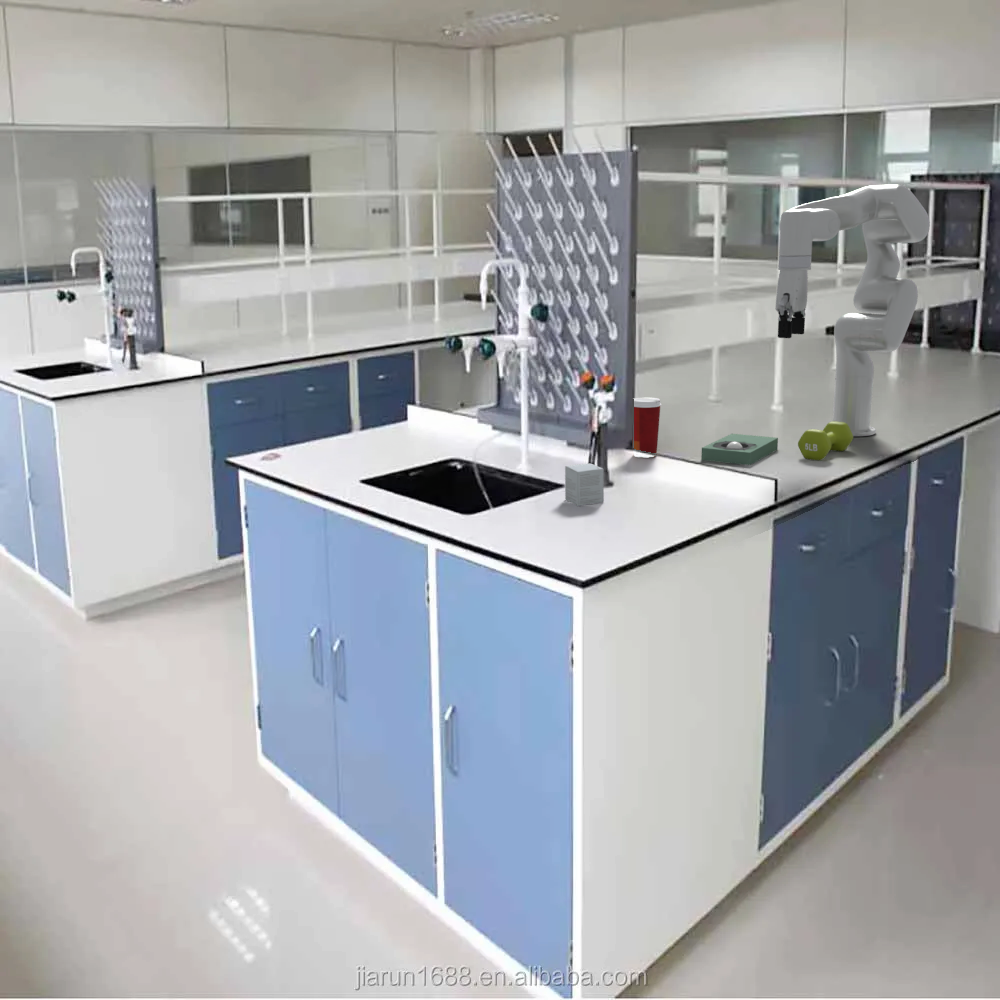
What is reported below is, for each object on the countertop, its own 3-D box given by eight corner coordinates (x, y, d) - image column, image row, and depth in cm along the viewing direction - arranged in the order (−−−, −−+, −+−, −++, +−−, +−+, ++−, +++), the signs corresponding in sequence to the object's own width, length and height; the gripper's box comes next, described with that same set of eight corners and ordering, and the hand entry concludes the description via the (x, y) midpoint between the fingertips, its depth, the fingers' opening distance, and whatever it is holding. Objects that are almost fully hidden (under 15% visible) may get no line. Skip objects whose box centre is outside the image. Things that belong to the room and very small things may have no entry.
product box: (590, 496, 223) (591, 462, 221) (604, 503, 218) (604, 468, 216) (564, 499, 221) (564, 465, 219) (577, 506, 216) (577, 471, 214)
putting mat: (731, 445, 271) (731, 433, 271) (777, 449, 265) (778, 437, 264) (701, 460, 255) (701, 447, 254) (749, 465, 249) (750, 452, 248)
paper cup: (665, 454, 262) (667, 398, 258) (652, 460, 256) (653, 402, 252) (637, 451, 266) (638, 396, 262) (623, 457, 260) (623, 400, 256)
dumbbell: (824, 447, 267) (826, 419, 265) (854, 451, 262) (856, 422, 260) (794, 458, 255) (795, 429, 254) (825, 463, 250) (827, 433, 248)
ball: (726, 460, 258) (730, 446, 259) (742, 462, 256) (746, 447, 257) (722, 451, 255) (726, 437, 256) (738, 453, 253) (742, 439, 254)
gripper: (790, 262, 261) (787, 332, 266) (767, 265, 247) (763, 338, 252) (821, 262, 258) (817, 333, 262) (799, 265, 243) (795, 340, 248)
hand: (791, 335), depth 257 cm, fingers open, 9 cm apart
